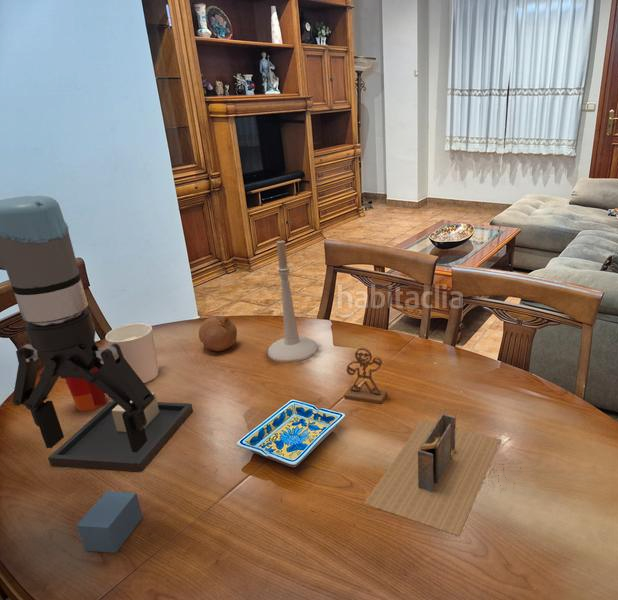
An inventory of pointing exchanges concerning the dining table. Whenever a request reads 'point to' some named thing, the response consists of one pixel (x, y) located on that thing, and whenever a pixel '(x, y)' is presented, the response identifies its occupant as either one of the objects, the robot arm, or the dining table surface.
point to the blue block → (110, 521)
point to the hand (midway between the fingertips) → (97, 444)
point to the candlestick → (289, 321)
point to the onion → (217, 333)
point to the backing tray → (119, 440)
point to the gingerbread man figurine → (365, 393)
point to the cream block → (149, 411)
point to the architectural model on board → (436, 475)
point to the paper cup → (86, 393)
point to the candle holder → (136, 348)
